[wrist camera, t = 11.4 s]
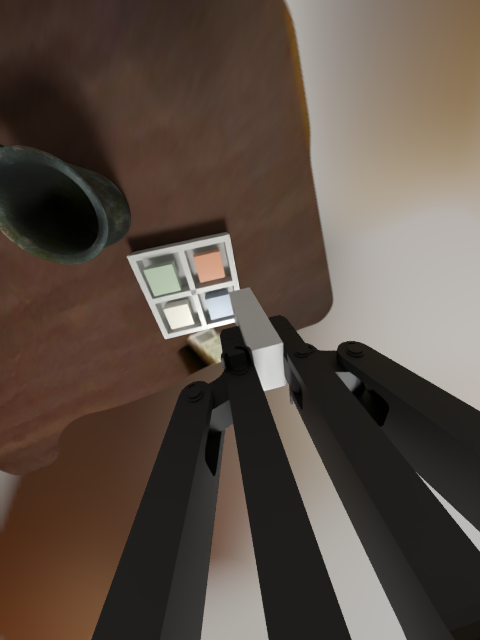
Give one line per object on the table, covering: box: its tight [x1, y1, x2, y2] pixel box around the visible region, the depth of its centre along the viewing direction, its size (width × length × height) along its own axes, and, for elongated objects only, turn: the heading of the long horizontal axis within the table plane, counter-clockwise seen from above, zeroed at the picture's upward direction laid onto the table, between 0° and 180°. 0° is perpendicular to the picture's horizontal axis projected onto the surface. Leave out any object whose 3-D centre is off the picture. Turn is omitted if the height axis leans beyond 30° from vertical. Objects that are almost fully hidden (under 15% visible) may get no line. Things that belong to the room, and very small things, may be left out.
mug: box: [0, 144, 131, 264], centre depth 26 cm, size 11×15×12 cm
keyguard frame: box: [127, 232, 240, 339], centre depth 39 cm, size 17×17×3 cm
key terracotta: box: [193, 248, 225, 283], centre depth 37 cm, size 5×5×3 cm
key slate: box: [205, 289, 234, 320], centre depth 41 cm, size 5×5×3 cm
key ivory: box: [163, 298, 195, 329], centre depth 40 cm, size 5×5×3 cm
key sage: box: [143, 260, 182, 296], centre depth 35 cm, size 5×5×3 cm
